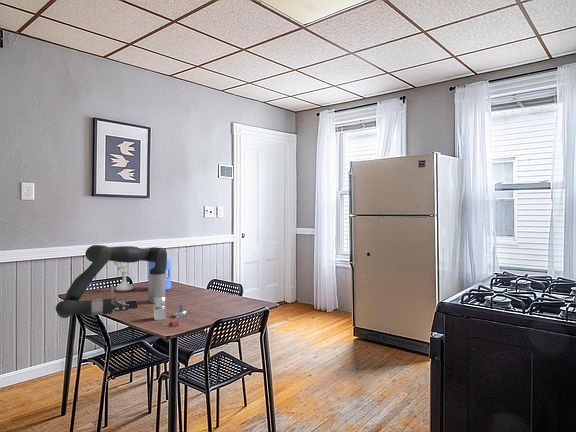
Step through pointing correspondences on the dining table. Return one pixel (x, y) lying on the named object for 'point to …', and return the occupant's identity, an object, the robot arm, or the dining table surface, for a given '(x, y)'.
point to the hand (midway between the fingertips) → (136, 304)
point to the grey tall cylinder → (159, 308)
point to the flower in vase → (124, 284)
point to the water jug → (168, 267)
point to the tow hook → (112, 293)
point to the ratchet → (179, 315)
